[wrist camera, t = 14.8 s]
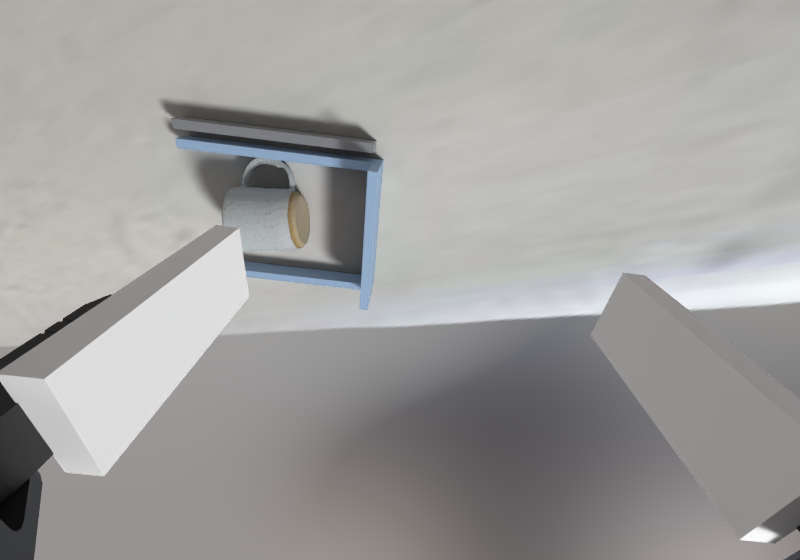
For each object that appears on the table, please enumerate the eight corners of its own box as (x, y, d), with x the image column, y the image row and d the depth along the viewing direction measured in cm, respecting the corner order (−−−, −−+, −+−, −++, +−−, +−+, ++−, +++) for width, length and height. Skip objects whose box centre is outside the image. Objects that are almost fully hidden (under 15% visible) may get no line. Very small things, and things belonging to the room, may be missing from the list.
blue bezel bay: (383, 159, 39) (377, 172, 33) (373, 281, 47) (367, 309, 41) (188, 135, 38) (146, 143, 32) (214, 263, 47) (184, 289, 41)
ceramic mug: (316, 237, 44) (299, 261, 37) (257, 237, 45) (229, 262, 38) (303, 154, 39) (280, 165, 32) (236, 155, 39) (200, 166, 33)
